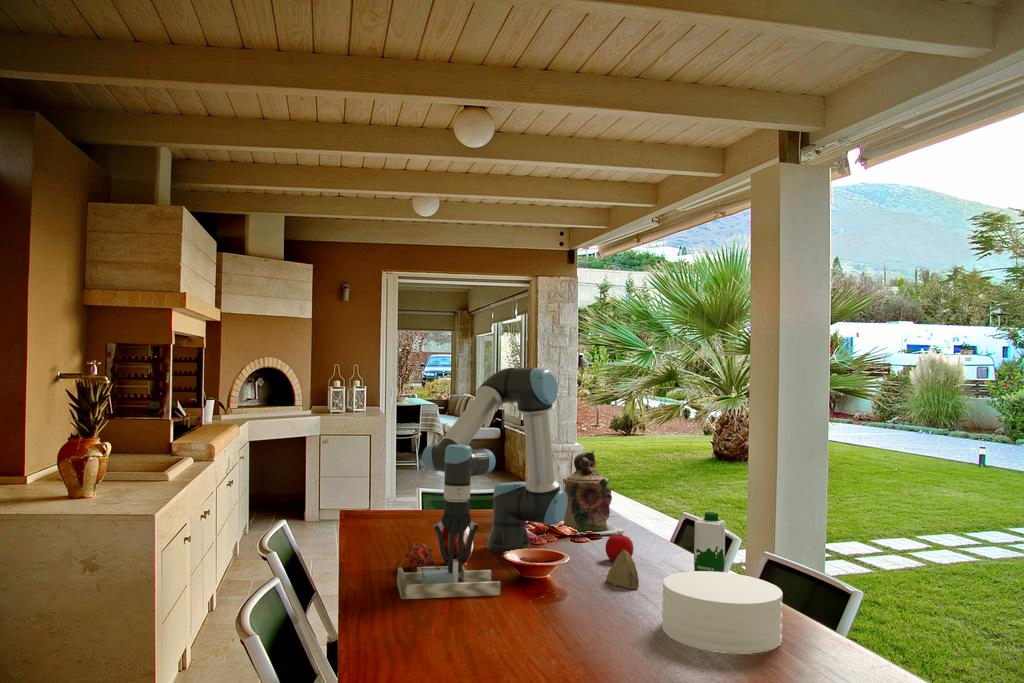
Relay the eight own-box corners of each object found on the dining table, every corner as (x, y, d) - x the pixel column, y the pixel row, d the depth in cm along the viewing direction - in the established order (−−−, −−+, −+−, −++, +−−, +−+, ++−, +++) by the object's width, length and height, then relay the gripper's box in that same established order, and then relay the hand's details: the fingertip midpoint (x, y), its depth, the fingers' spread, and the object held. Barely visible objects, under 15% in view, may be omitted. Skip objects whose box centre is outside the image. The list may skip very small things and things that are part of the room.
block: (449, 587, 217) (450, 569, 217) (453, 594, 210) (454, 575, 210) (421, 588, 215) (422, 570, 215) (424, 595, 208) (425, 577, 208)
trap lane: (486, 576, 229) (486, 559, 229) (500, 595, 210) (500, 576, 210) (395, 579, 222) (396, 562, 222) (401, 599, 204) (402, 580, 204)
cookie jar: (546, 525, 310) (548, 446, 311) (601, 523, 317) (603, 446, 319) (568, 538, 287) (570, 453, 288) (627, 535, 294) (629, 453, 295)
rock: (649, 582, 219) (640, 568, 229) (633, 559, 218) (625, 546, 228) (618, 604, 219) (611, 589, 229) (602, 581, 218) (595, 567, 227)
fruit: (632, 558, 257) (632, 528, 257) (633, 565, 248) (634, 534, 248) (604, 557, 258) (605, 527, 258) (605, 563, 249) (606, 533, 249)
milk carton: (726, 578, 234) (727, 513, 235) (720, 585, 226) (721, 518, 227) (698, 574, 238) (699, 510, 239) (690, 581, 230) (691, 514, 231)
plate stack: (693, 608, 203) (694, 565, 204) (799, 633, 186) (799, 586, 186) (640, 634, 182) (641, 585, 182) (754, 665, 164) (755, 611, 164)
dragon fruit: (420, 569, 241) (422, 585, 229) (398, 554, 239) (399, 569, 228) (436, 548, 241) (439, 563, 230) (415, 533, 240) (417, 547, 228)
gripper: (435, 502, 210) (433, 588, 208) (482, 501, 213) (479, 586, 212) (432, 497, 217) (429, 581, 216) (476, 497, 220) (474, 579, 219)
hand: (454, 583), depth 214 cm, fingers closed
